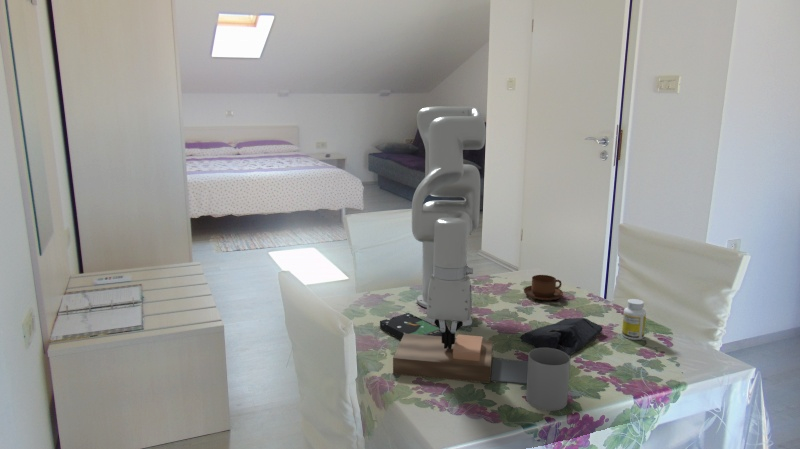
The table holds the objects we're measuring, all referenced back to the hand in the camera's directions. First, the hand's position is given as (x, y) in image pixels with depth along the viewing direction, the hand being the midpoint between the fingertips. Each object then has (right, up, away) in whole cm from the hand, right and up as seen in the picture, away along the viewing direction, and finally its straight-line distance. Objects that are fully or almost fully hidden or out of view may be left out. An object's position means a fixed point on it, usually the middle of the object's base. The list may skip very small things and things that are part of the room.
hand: (448, 346), depth 137 cm
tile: (+5, -1, -1) cm, 5 cm away
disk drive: (-8, -1, +20) cm, 22 cm away
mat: (+16, -5, -2) cm, 17 cm away
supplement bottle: (+50, -1, +18) cm, 53 cm away
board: (-1, -5, +1) cm, 5 cm away
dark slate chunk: (+32, -2, +17) cm, 36 cm away
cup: (+19, -9, -14) cm, 26 cm away
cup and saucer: (+34, +6, +47) cm, 58 cm away
